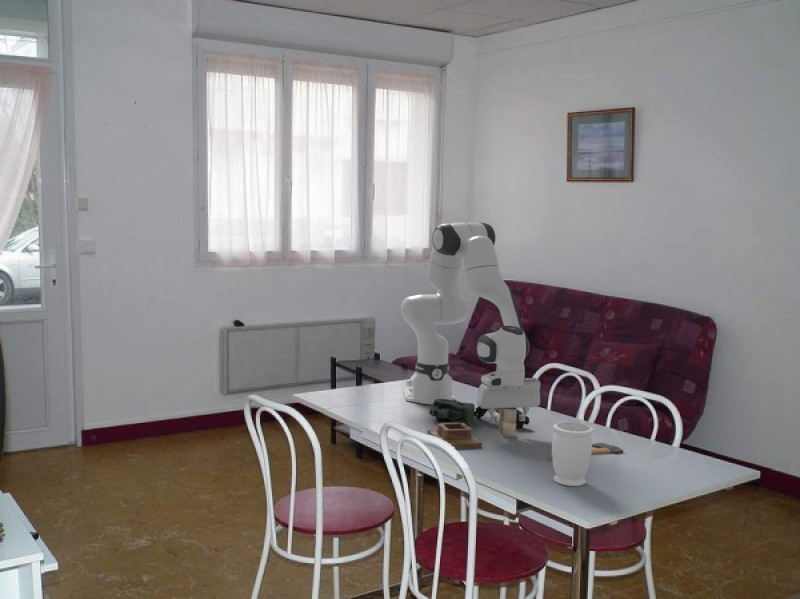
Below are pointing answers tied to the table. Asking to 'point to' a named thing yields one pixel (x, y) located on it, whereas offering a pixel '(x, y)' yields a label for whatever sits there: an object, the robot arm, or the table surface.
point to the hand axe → (602, 449)
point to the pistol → (482, 412)
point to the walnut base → (459, 442)
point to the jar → (571, 452)
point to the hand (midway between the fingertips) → (507, 421)
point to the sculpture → (453, 411)
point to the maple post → (507, 422)
